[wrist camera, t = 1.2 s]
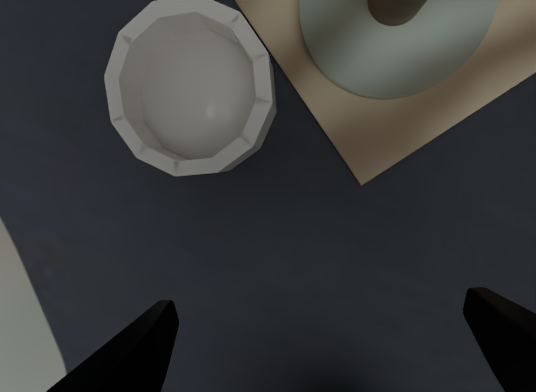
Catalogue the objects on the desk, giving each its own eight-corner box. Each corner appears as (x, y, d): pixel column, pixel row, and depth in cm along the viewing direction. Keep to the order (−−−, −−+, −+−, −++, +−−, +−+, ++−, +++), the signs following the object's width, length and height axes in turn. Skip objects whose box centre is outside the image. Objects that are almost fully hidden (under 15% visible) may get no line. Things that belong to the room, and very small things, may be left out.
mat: (578, 43, 18) (583, 41, 17) (360, 185, 20) (361, 185, 20) (422, -203, 17) (424, -210, 17) (219, -23, 20) (217, -26, 19)
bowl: (304, 115, 20) (305, 107, 17) (189, 199, 22) (171, 206, 19) (217, -12, 20) (202, -45, 17) (108, 84, 22) (75, 71, 19)
